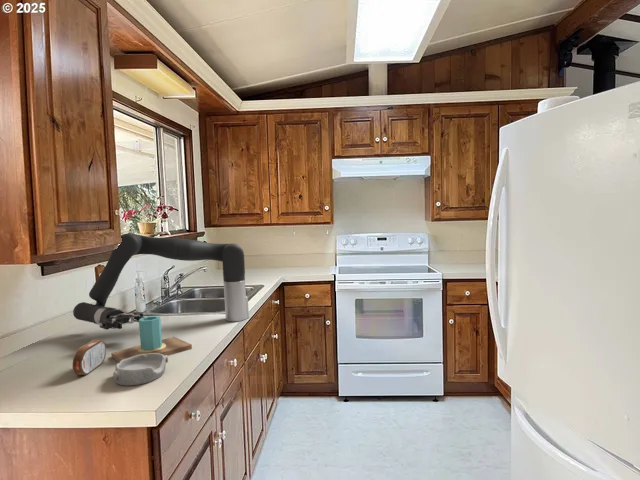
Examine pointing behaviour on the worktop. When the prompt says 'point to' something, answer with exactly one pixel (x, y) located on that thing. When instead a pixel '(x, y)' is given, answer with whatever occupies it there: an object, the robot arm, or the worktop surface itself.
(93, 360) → the tin
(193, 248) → the robot arm
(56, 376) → the worktop surface
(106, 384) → the worktop surface
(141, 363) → the dish
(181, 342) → the post stand
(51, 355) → the worktop surface
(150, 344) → the collar
